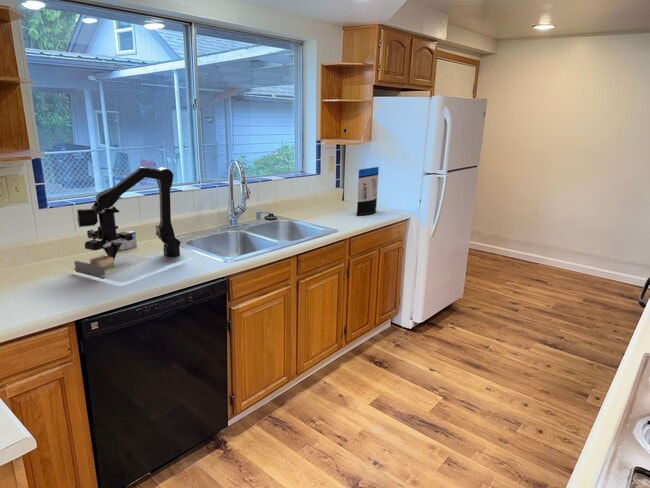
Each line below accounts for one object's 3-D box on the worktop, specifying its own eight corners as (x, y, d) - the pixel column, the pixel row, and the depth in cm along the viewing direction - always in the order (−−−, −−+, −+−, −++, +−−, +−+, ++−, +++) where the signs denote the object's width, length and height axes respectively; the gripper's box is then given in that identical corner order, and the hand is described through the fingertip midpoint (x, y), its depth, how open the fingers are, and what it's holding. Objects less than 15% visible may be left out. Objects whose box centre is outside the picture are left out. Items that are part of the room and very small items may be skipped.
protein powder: (382, 211, 303) (384, 167, 295) (362, 217, 284) (365, 170, 276) (370, 209, 309) (372, 166, 300) (350, 215, 290) (352, 169, 281)
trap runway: (151, 261, 192) (150, 251, 190) (103, 278, 171) (101, 267, 170) (125, 255, 198) (124, 246, 197) (75, 271, 178) (74, 261, 176)
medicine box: (122, 253, 202) (120, 235, 199) (116, 251, 204) (114, 233, 201) (137, 249, 208) (136, 231, 206) (131, 247, 210) (130, 230, 208)
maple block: (114, 266, 180) (113, 257, 179) (101, 271, 175) (100, 261, 174) (103, 264, 183) (102, 255, 181) (90, 268, 177) (89, 259, 176)
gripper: (113, 217, 190) (117, 251, 194) (72, 226, 174) (78, 264, 178) (132, 220, 185) (135, 255, 190) (92, 230, 169) (97, 268, 173)
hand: (112, 260), depth 183 cm, fingers closed
